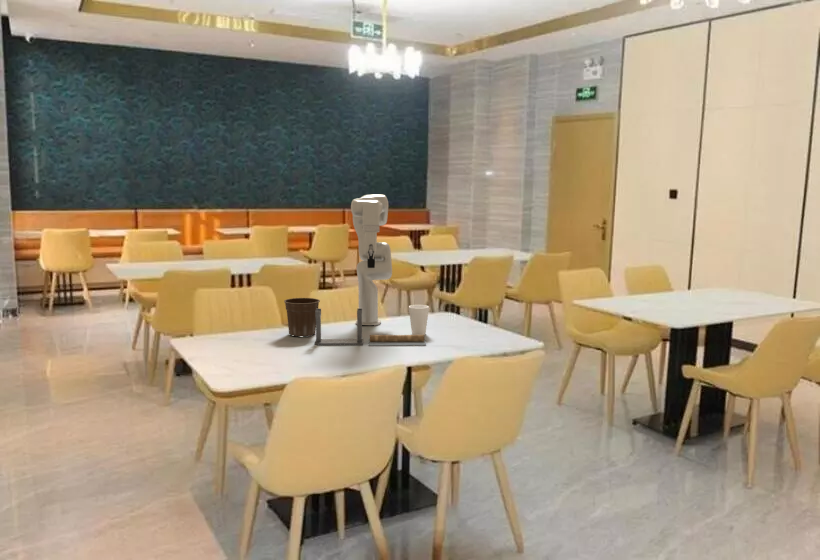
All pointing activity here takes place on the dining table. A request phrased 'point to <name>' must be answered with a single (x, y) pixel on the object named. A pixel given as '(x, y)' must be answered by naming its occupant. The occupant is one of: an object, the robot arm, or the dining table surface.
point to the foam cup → (418, 318)
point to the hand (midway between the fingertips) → (371, 266)
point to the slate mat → (397, 343)
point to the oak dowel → (396, 338)
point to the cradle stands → (338, 341)
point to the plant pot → (301, 316)
